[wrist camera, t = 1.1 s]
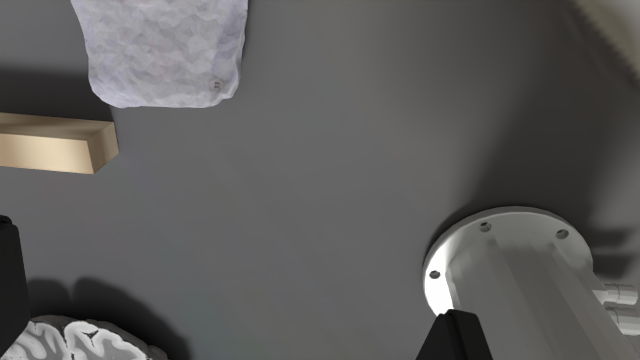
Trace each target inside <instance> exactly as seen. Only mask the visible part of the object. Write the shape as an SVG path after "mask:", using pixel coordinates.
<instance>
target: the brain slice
mask: <svg viewBox="0 0 640 360" xmlns="http://www.w3.org/2000/svg"><path fill="white" fill-rule="evenodd" d="M0 360H172V359H167V354H166V353H165V352H164V351H163V350H161V349H160V348H158V347H156V346H154V345H153V346H148V345H147V344H146V343H145V342H144V341H142V340H140V339H138V338H137V337H135V336H133V335H132V334H130V333H128V332H126V331H124V330H122V329H120V328H119V327H117V326H116V325H114V324H112V323H110V322H106V321H96V320H91V319H87V320H84V321H83V320H77V319H74V318H70V317H66V316H55V315H44V316H39V317H35V318H31V319H30V321H29V323H28V325H27V327H26V328H25V330H24V331H23V332H22V334H21V335H20V336H19V337H18V338H17V340H16V341H15V342H14V343H13V344H12V345H11V347H10V348H9V349H8V350H7V351H6V353H5V354H4V355H3V356H2V357H1V359H0Z"/></svg>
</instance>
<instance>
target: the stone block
mask: <svg viewBox="0 0 640 360" xmlns="http://www.w3.org/2000/svg"><path fill="white" fill-rule="evenodd" d="M71 3H72V5H73V8H74V10H75V12H76V14H77V16H78V19H79V22H80V24H81V27H82V30H83V34H84V37H85V46H86V51H87V54H88V56H89V73H88V77H89V82H90V85H91V87H92V90H93V92H94V93H95V94H96V95H97V96H98V97H99V98H100V99H101V100H102V101H104V102H106V103H108V104H110V105H113V106H116V107H118V108H125V107H137V106H164V107H197V108H204V107H209V106H214V105H216V104H219V102H220V101H221V100H223V99H226V98H231V97H232V96H233V95H234V92H235V91H236V89H237V87H238V85H239V80H240V75H241V59H242V48H243V45H244V41H245V25H246V19H247V16H248V15H247V9H248V0H71Z"/></svg>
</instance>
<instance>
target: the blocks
mask: <svg viewBox="0 0 640 360" xmlns="http://www.w3.org/2000/svg"><path fill="white" fill-rule="evenodd" d="M118 153H119V149H118V144H117V138H116V132H115V126H114V122H106V121H95V120H83V119H71V118H59V117H48V116H36V115H24V114H12V113H1V112H0V166H9V167H20V168H31V169H42V170H53V171H65V172H76V173H87V174H94V173H96V172H97V171H98V170H99V169H100V168H102V167H103V166H104V165H105V164H106V163H107V162H109V161H110V160H111V159H112V158H113V157H115V156H116V155H117V154H118Z"/></svg>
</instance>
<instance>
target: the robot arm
mask: <svg viewBox="0 0 640 360" xmlns="http://www.w3.org/2000/svg"><path fill="white" fill-rule="evenodd" d="M422 284H423V289H424V294H425V297H426V300H427V303H428V305H429V306H430V308H431V309H432V311H433V312H434V314H435V315H436V316H437V318H436V320H435V322H434V324H433V326H432V328H431V330H430V332H429V334H428V336H427V338H426V340H425V342H424V344H423V346H422V348H421V350H420V352H419V354H418V356H417V358H416V360H640V357H639V356H638V355H637V353H636V352H635V350H634V349H633V348H632V346H631V345H630V343H629V342H628V340H627V339H626V338H625V336H624V335H623V334H626V335H639V334H640V313H639V312H638V311H637V310H636V309H629V308H619V307H604V306H603V303H604V301H609V302H613V303H620V304H635V303H636V302H637V299H638V294H637V291H636V289H635V287H633V286H632V285H623V284H603V282H602V281H601V280H599V279H598V278H597V277H596V275H595V274H594V273H593V259H592V255H591V252H590V249H589V247H588V245H587V243H586V242H585V240H584V238H583V237H582V236H581V235H580V234H579V232H578V231H577V230H576V229H575V228H574V226H572V225H571V224H570V223H568V222H567V221H566V220H565V219H563V218H562V217H560V216H557V215H555V214H553V213H551V212H549V211H545V210H542V209H538V208H534V207H524V206H508V207H498V208H493V209H489V210H484V211H481V212H479V213H476V214H474V215H471V216H468V217H466V218H465V219H463V220H461V221H459V222H458V223H456V224H454V225H453V226H451V227H450V228H449V229H448V230H447V231H445V232H444V233H443V234H442V235H441V236H440V237H439V238H438V239H437V241H436V242H435V243H434V244H433V245H432V247H431V249H430V251H429V252H428V254H427V256H426V258H425V262H424V265H423V269H422ZM30 317H31V309H30V303H29V296H28V290H27V283H26V277H25V270H24V264H23V257H22V251H21V244H20V238H19V231H18V228H17V227H16V225H13V224H12V221H11V219H10V218H9V217H7V216H3V215H0V359H1V357H2V356H3V355H4V354H5V353H6V351H7V350H8V349H9V348H10V347H11V345H12V344H13V343H14V342H15V341H16V340H17V338H18V337H19V336H20V335H21V334H22V332H23V331H24V330H25V328H26V327H27V325H28V323H29V321H30Z"/></svg>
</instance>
